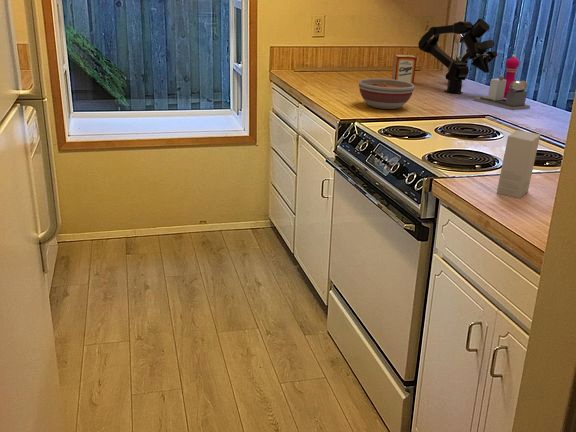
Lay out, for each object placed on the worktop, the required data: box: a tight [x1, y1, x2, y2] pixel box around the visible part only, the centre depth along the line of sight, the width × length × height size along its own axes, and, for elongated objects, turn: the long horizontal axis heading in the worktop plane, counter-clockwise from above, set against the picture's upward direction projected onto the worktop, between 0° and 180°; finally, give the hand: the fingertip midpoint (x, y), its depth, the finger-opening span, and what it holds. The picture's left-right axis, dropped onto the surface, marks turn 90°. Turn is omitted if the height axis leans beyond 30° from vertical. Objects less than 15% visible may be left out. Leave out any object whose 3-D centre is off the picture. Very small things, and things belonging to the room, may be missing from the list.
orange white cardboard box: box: [391, 54, 418, 85], centre depth 303 cm, size 10×6×16 cm
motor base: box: [472, 80, 531, 111], centre depth 278 cm, size 22×12×12 cm, turn 32°
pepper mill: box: [503, 54, 520, 99], centre depth 295 cm, size 7×7×20 cm
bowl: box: [358, 78, 415, 110], centre depth 258 cm, size 23×23×10 cm
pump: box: [487, 74, 506, 100], centre depth 280 cm, size 4×6×11 cm
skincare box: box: [496, 129, 541, 199], centre depth 159 cm, size 8×7×16 cm
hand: (487, 72), depth 283 cm, fingers closed
